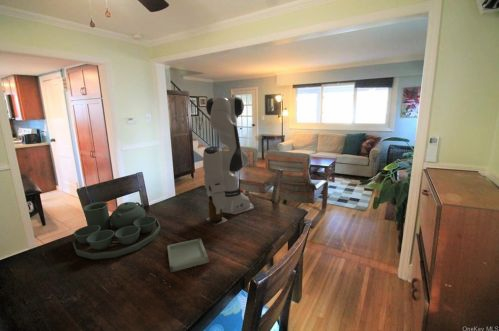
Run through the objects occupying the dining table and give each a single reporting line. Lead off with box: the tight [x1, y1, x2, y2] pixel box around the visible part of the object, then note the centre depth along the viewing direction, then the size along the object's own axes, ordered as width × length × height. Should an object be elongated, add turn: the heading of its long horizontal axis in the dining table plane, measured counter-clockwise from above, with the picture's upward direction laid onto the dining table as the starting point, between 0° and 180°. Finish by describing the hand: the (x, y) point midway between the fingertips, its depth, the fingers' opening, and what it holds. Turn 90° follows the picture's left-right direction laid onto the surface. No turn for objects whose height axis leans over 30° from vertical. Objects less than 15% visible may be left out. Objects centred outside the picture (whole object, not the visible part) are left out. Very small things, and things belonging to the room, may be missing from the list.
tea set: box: [72, 201, 161, 260], centre depth 123 cm, size 40×40×16 cm
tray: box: [167, 237, 210, 273], centre depth 107 cm, size 16×18×2 cm
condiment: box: [205, 196, 229, 226], centre depth 111 cm, size 7×8×12 cm
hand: (215, 210), depth 112 cm, fingers closed on condiment, 6 cm apart
